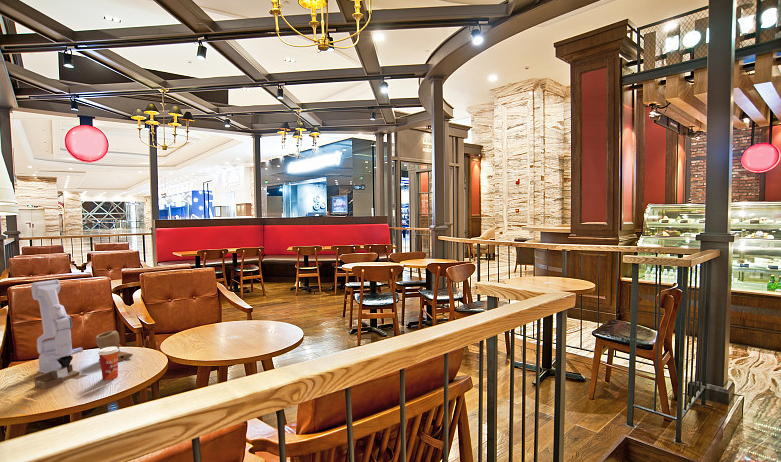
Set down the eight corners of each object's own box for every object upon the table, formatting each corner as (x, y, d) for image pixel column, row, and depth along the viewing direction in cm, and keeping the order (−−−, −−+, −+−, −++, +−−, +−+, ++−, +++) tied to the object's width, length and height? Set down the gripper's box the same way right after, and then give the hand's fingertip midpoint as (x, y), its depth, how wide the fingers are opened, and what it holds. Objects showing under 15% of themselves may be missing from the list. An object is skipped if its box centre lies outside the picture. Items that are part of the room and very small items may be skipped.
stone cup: (92, 362, 199) (90, 333, 198) (117, 354, 210) (115, 326, 209) (109, 366, 192) (107, 337, 191) (133, 358, 203) (132, 330, 202)
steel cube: (52, 378, 175) (51, 370, 175) (62, 374, 179) (61, 366, 179) (58, 379, 174) (56, 371, 173) (68, 375, 178) (66, 367, 177)
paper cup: (109, 383, 174) (107, 352, 173) (95, 381, 175) (93, 351, 174) (125, 375, 181) (123, 346, 180) (111, 374, 183) (109, 345, 182)
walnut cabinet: (35, 387, 170) (34, 376, 170) (73, 373, 185) (72, 363, 184) (49, 391, 167) (48, 379, 167) (87, 376, 181) (86, 366, 181)
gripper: (50, 350, 170) (53, 380, 171) (86, 339, 183) (88, 367, 184) (40, 348, 172) (43, 378, 173) (76, 337, 186) (78, 365, 187)
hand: (65, 372), depth 179 cm, fingers closed, pressing on steel cube
